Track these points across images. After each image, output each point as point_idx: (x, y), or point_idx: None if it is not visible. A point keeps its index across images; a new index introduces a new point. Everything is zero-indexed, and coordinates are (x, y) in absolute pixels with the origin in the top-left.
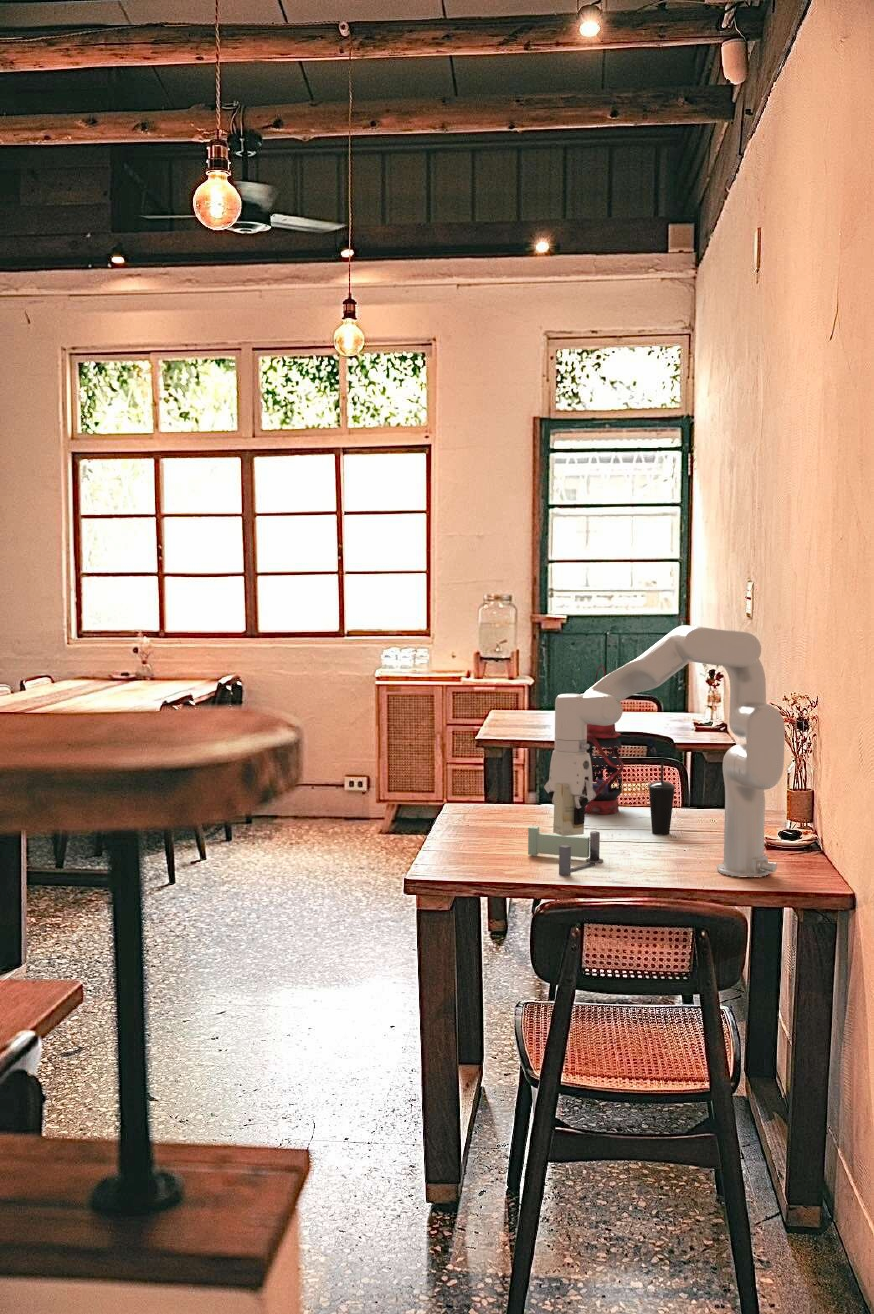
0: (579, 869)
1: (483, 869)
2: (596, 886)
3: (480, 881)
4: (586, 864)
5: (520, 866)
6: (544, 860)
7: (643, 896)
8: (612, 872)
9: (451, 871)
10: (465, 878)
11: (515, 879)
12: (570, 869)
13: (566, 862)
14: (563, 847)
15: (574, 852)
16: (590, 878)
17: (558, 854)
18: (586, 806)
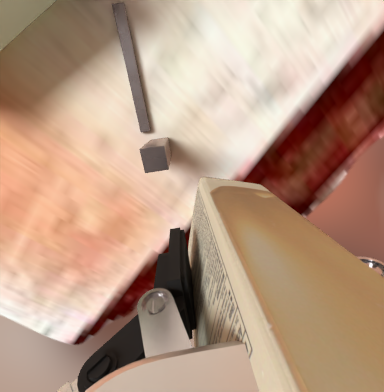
0: (140, 83)
1: (48, 246)
2: (264, 156)
3: (122, 289)
4: (121, 38)
5: (53, 177)
6: (17, 90)
7: (371, 132)
8: (205, 27)
9: (41, 292)
10: (94, 296)
11: (139, 242)
12: (167, 138)
13: (169, 157)
14: (160, 170)
15: (35, 5)
16: (214, 121)
17: (7, 41)
18: (372, 261)
